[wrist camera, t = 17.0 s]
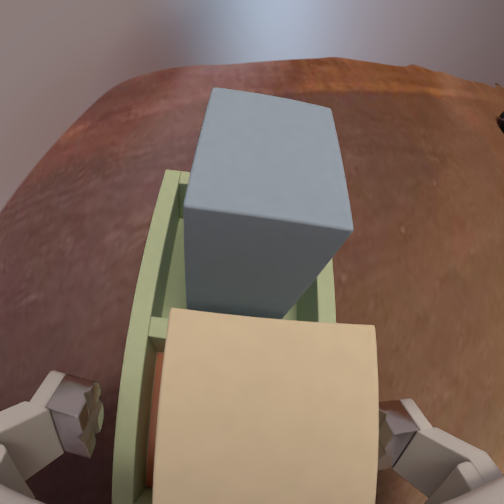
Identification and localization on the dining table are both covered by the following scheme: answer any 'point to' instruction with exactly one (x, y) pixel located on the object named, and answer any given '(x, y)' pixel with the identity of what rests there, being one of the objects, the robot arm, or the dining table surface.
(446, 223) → the dining table surface
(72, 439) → the robot arm
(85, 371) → the dining table surface
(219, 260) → the pale blue upright prism
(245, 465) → the beige rectangular block
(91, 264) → the dining table surface
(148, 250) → the holder
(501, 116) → the decorative flower
